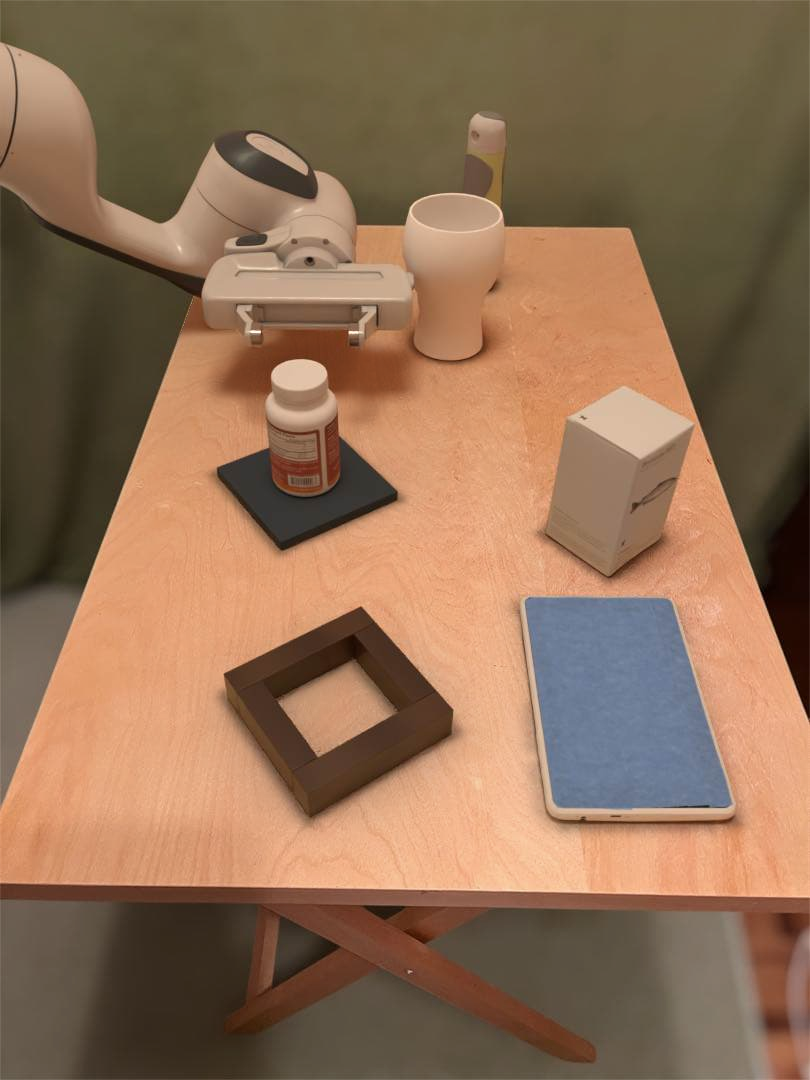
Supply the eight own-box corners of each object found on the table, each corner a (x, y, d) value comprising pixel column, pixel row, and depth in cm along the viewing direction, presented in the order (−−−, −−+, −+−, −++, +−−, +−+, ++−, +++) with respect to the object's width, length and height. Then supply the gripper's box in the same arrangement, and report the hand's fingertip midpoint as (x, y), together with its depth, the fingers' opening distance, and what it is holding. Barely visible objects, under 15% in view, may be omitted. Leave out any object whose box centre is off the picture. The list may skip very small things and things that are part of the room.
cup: (410, 313, 107) (414, 185, 96) (501, 324, 105) (514, 196, 95) (391, 361, 99) (393, 228, 89) (488, 374, 98) (501, 240, 87)
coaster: (281, 550, 77) (280, 542, 77) (217, 475, 84) (216, 467, 84) (397, 499, 82) (398, 491, 82) (328, 432, 89) (327, 424, 89)
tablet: (737, 823, 60) (742, 812, 59) (545, 823, 59) (548, 812, 58) (671, 605, 74) (674, 594, 73) (516, 604, 73) (517, 592, 73)
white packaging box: (608, 580, 76) (639, 460, 67) (542, 533, 80) (563, 414, 71) (663, 541, 79) (698, 422, 71) (597, 498, 83) (623, 380, 75)
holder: (309, 817, 59) (307, 794, 57) (227, 697, 66) (223, 673, 64) (451, 733, 64) (453, 709, 62) (361, 629, 71) (361, 605, 69)
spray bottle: (447, 283, 112) (457, 112, 99) (474, 271, 115) (488, 103, 101) (475, 298, 110) (489, 125, 96) (503, 285, 112) (520, 115, 98)
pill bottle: (314, 448, 86) (308, 345, 78) (354, 481, 83) (352, 377, 75) (258, 473, 83) (247, 369, 75) (297, 509, 80) (289, 403, 72)
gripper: (413, 297, 96) (417, 371, 86) (217, 296, 95) (199, 369, 85) (415, 240, 92) (419, 311, 82) (210, 238, 91) (189, 309, 81)
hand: (305, 341), depth 83 cm, fingers open, 8 cm apart
